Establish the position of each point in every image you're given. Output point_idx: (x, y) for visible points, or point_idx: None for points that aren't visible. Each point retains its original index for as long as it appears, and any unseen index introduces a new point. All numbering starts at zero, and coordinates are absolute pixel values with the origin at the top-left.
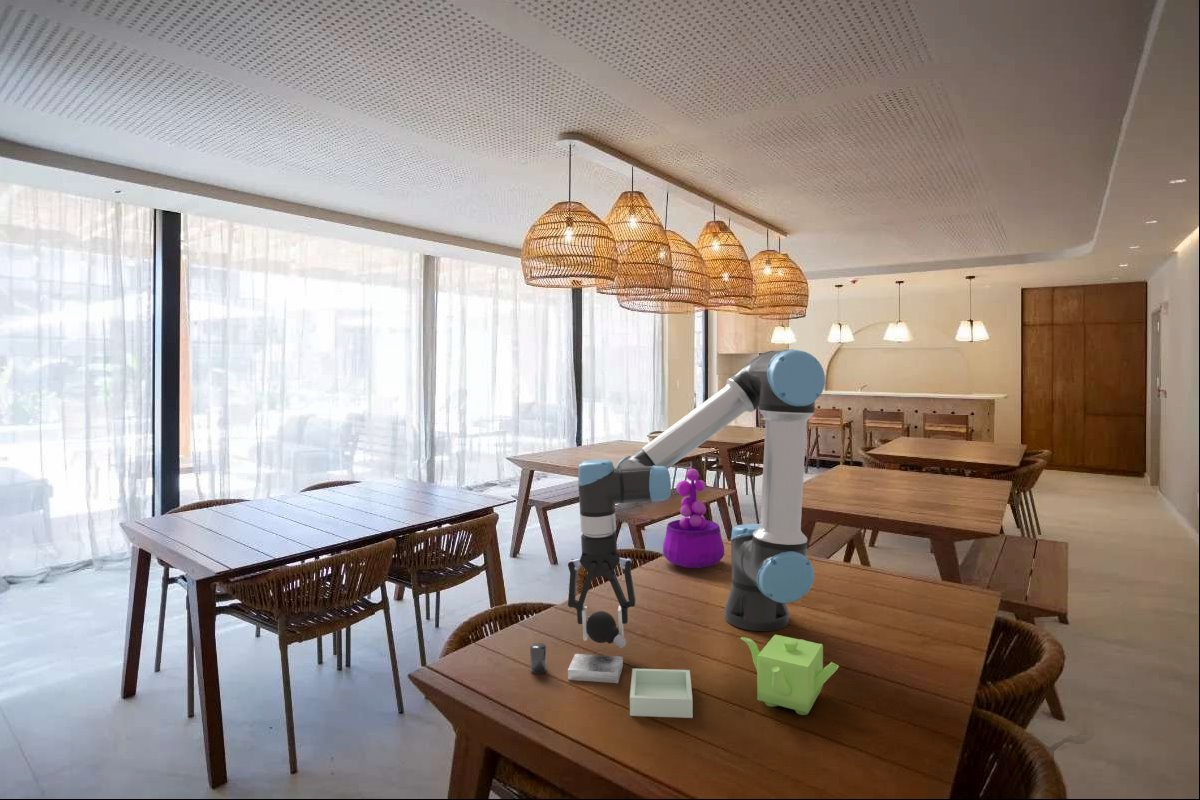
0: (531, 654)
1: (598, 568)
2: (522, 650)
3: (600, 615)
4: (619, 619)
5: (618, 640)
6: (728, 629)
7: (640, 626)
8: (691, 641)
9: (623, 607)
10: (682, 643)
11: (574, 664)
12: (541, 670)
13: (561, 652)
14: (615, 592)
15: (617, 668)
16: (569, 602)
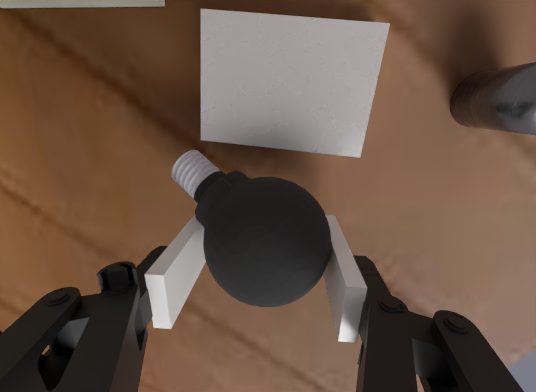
0: None
1: None
2: (517, 233)
3: (260, 251)
4: (177, 248)
5: (197, 163)
6: (6, 319)
7: (193, 343)
8: (66, 270)
9: (121, 284)
10: (83, 262)
11: (363, 71)
12: (476, 75)
13: (393, 220)
14: (102, 383)
15: (206, 46)
16: (475, 339)
